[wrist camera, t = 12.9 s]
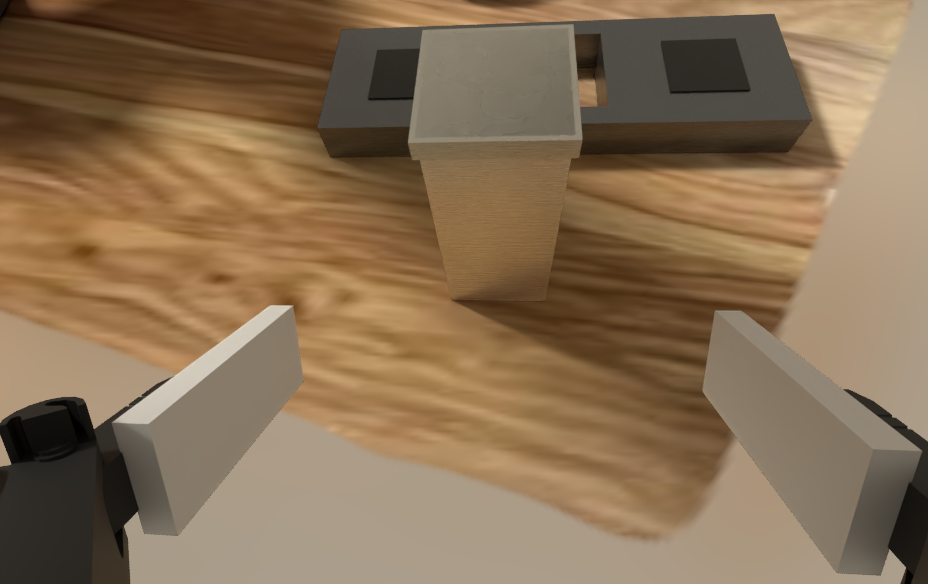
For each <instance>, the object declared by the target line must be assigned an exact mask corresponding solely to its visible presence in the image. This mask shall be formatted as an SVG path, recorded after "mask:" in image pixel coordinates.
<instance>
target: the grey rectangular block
mask: <svg viewBox="0 0 928 584" xmlns="http://www.w3.org/2000/svg"><path fill="white" fill-rule="evenodd" d="M582 140H583V139H582V126H581V114H580V101H579V89H578V76H577V64H576V51H575V39H574V26H573V24H567V25H541V26H514V27H488V28H461V29H435V30H423V31H422V38H421V46H420V54H419V61H418V69H417V77H416V84H415V92H414V100H413V107H412V115H411V123H410V130H409V138H408V145H409V150H410V154H411V158H412V160H420V163H421V168H422V172H423V177H424V181H425V185H426V190H427V194H428V199H429V203H430V207H431V212H432V216H433V221H434V225H435V229H436V234H437V238H438V243H439V247H440V251H441V256H442V260H443V265H444V269H445V273H446V278H447V282H448V286H449V291H450V295H451V300H487V301H545V300H546V295H547V289H548V284H549V278H550V273H551V267H552V262H553V256H554V251H555V245H556V240H557V234H558V229H559V223H560V218H561V212H562V207H563V201H564V196H565V190H566V185H567V179H568V174H569V168H570V163H571V158H579V155H580V150H581V145H582Z"/></svg>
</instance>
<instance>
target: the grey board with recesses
mask: <svg viewBox="0 0 928 584" xmlns="http://www.w3.org/2000/svg"><path fill="white" fill-rule="evenodd" d="M567 24H573V26H574V39H575V51H576V64H577V68H584V67H594V72H595V82H596V92H597V103H598V107H580V114H581V126H582V139H583V140H582V145H581V150H580V154H637V153H724V152H788V151H789V150H790V149H791V147H792V146H793V145H794V143H795V142H796V141H797V139H798V138H799V137H800V135H801V134H802V133H803V131H804V130H805V129H806V127H807V126H808V125H809V123H810V122H811V121H812V117H811V115H810V112H809V109H808V106H807V104H806V101H805V98H804V95H803V92H802V90H801V87H800V84H799V81H798V79H797V76H796V73H795V70H794V67H793V65H792V62H791V59H790V56H789V53H788V51H787V48H786V45H785V42H784V40H783V37H782V34H781V31H780V28H779V26H778V23H777V20H776V17H775V15H774V14H760V15H733V16H705V17H677V18H649V19H622V20H594V21H566V22H538V23H511V24H483V25H455V26H428V27H400V28H372V29H344V30H341V34H340V38H339V43H338V47H337V51H336V55H335V59H334V63H333V67H332V71H331V75H330V79H329V83H328V87H327V91H326V95H325V99H324V103H323V107H322V111H321V115H320V119H319V123H318V127H317V129H318V131H319V133H320V135H321V138H322V140H323V142H324V144H325V146H326V148H327V150H328V153H329V155H330V157H377V156H411V154H410V150H409V145H408V138H409V130H410V123H411V115H412V107H413V100H414V92H415V84H416V77H417V69H418V61H419V54H420V46H421V38H422V31H423V30H435V29H461V28H488V27H514V26H541V25H567Z"/></svg>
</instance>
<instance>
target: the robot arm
mask: <svg viewBox="0 0 928 584" xmlns="http://www.w3.org/2000/svg"><path fill="white" fill-rule="evenodd" d="M8 1H9V0H0V16H1V15H2V13H3V12H4V10H5V8H6V6H7V4H8ZM303 381H304V380H303V373H302V366H301V359H300V352H299V345H298V338H297V331H296V324H295V317H294V310H293V306H274V305H270V306H269V307H267V308H266V309H265V310H263V311H262V312H261V313H259V314H258V315H257V316H255V317H254V318H253V319H251V320H250V321H249V322H247V323H246V324H244V325H243V326H242V327H240V328H239V329H238V330H236V331H235V332H234V333H232V334H231V335H230V336H228V337H227V338H225V339H224V340H223V341H221V342H220V343H219V344H217V345H216V346H215V347H213V348H212V349H211V350H209V351H208V352H207V353H205V354H204V355H202V356H201V357H200V358H198V359H197V360H196V361H194V362H193V363H192V364H190V365H189V366H188V367H186V368H185V369H184V370H182V371H181V372H179V373H178V374H177V375H175V376H173V377H171V378H169V379H166V380H164V381H162V382H160V383H158V384H156V385H155V386H153V387H152V388H151V389H149V390H148V391H146V392H145V393H144V394H142V397H138V398H137V399H135V400H134V401H133V402H131V403H130V404H129V407H127V406H126V407H124V408H123V409H122V410H120V411H119V412H118V413H116V414H115V415H113V416H112V417H111V418H109V419H108V420H106V421H105V422H104V423H102V424H101V425H100V426H98V427H97V428H95V429H94V428H93V425H92V422H91V419H90V415H89V413H88V409H87V406H86V403H85V402H84V400H83V399H81V398H77V397H61V398H55V399H50V400H46V401H43V402H39V403H36V404H33V405H30V406H27V407H25V408H23V409H21V410H18V411H16V412H14V413H13V414H11V415H9V416H8V417H6V418H5V419H3V420H2V422H1V423H0V435H1V438H2V440H3V443H4V446H5V448H6V451H7V453H8V456H9V458H10V461H11V465H9V466H2V467H0V584H130V570H129V551H128V538H127V535H126V532H125V529H124V525H125V524H126V523H127V522H128V521H129V520H130V519H131V518H132V517H133V515H135V513H136V512H137V511H138V514H139V518H140V521H141V525H142V528H143V531H144V534H154V535H172V536H173V535H174V536H178V535H179V534H180V533H181V532H182V530H183V529H184V528H185V526H186V525H187V524H188V523H189V522H190V520H191V519H192V518H193V517H194V516H195V514H196V513H197V512H198V511H199V509H200V508H201V507H202V506H203V505H204V503H205V502H206V501H207V500H208V498H209V497H210V496H211V495H212V493H213V492H214V491H215V490H216V489H217V487H218V486H219V485H220V483H221V482H222V481H223V480H224V479H225V477H226V476H227V475H228V474H229V473H230V471H231V470H232V469H233V468H234V466H235V465H236V464H237V462H238V461H239V460H240V459H241V458H242V457H243V455H244V454H245V453H246V451H247V450H248V449H249V448H250V447H251V445H252V444H253V443H254V442H255V441H256V439H257V438H258V437H259V436H260V434H261V433H262V432H263V431H264V429H265V428H266V427H267V426H268V425H269V423H270V422H271V421H272V420H273V418H274V417H275V416H276V415H277V413H278V412H279V411H280V410H281V409H282V407H283V406H284V405H285V404H286V402H287V401H288V400H289V399H290V397H291V396H292V395H293V394H294V393H295V391H296V390H297V389H298V388H299V386H300V385H301V384H302V383H303ZM702 392H703V393H704V394H705V396H706V397H707V399H708V400H709V401H710V403H711V404H712V405H713V407H714V408H715V409H716V411H717V412H718V413H719V415H720V416H721V417H722V419H723V420H724V421H725V423H726V424H727V426H728V427H729V428H730V430H731V431H732V432H733V434H734V435H735V436H736V438H737V439H738V440H739V442H740V443H741V444H742V446H743V447H744V449H745V450H746V451H747V453H748V454H749V455H750V457H751V458H752V459H753V461H755V463H756V465H757V466H758V467H759V469H760V470H761V471H762V473H763V474H764V476H765V477H766V478H767V480H768V481H769V482H770V484H771V485H772V486H773V488H774V489H775V490H776V492H777V493H778V494H779V496H780V497H781V498H782V500H783V501H784V503H785V504H786V505H787V507H788V508H789V509H790V510H791V512H792V513H793V515H794V516H795V517H796V519H797V520H798V521H799V523H800V524H801V525H802V527H803V528H804V530H805V531H806V532H807V533H808V535H809V536H810V538H811V539H812V540H813V542H814V543H815V544H816V546H817V547H818V548H819V550H820V551H821V552H822V554H823V555H824V557H825V558H826V559H827V561H828V562H829V563H830V565H831V566H832V567H833V569H834V570H835V571H836V573H844V574H845V573H846V574H862V575H881V572H882V569H883V567H884V564H885V560H886V557H887V555H888V552H889V549H890V550H891V551H892V552H893V553H894V554H895V556H896V557H897V558H898V559H899V560H900V561H901V562H902V563H903V564H904V566H905V567H906V570H905V573H904V576H903V579H902V581H901V584H928V442H927V441H926V440H925V439H923V438H922V437H921V436H919V435H918V434H917V433H915V432H914V431H913V430H910V429H908V428H907V426H906V425H905V424H903V423H902V422H901V421H899V420H898V419H897V418H892V415H891V414H890V413H889V412H887V411H886V410H884V409H883V408H882V407H880V406H879V405H878V404H876V403H875V402H874V401H872V400H870V399H868V398H865V397H863V396H861V395H859V394H857V393H855V392H853V391H851V390H848V389H847V390H846V389H842V388H841V387H839V386H838V385H837V384H835V383H834V382H833V381H832V380H830V379H829V378H828V377H826V376H825V375H824V374H822V373H821V372H820V371H818V370H817V369H816V368H815V367H813V366H812V365H811V364H810V363H808V362H807V361H806V360H804V359H803V358H801V356H799V355H798V354H796V353H795V352H794V351H793V350H792V349H790V348H789V347H788V346H786V345H785V344H784V343H783V342H781V341H780V340H779V339H777V338H776V337H775V336H774V335H772V334H771V333H770V332H768V331H767V330H766V329H765V328H763V327H762V326H761V325H759V324H758V323H757V322H756V321H754V320H753V319H752V318H750V317H749V316H748V315H746V314H745V313H744V312H743V311H724V310H715V313H714V319H713V326H712V332H711V338H710V345H709V351H708V358H707V364H706V371H705V377H704V383H703V390H702Z"/></svg>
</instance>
